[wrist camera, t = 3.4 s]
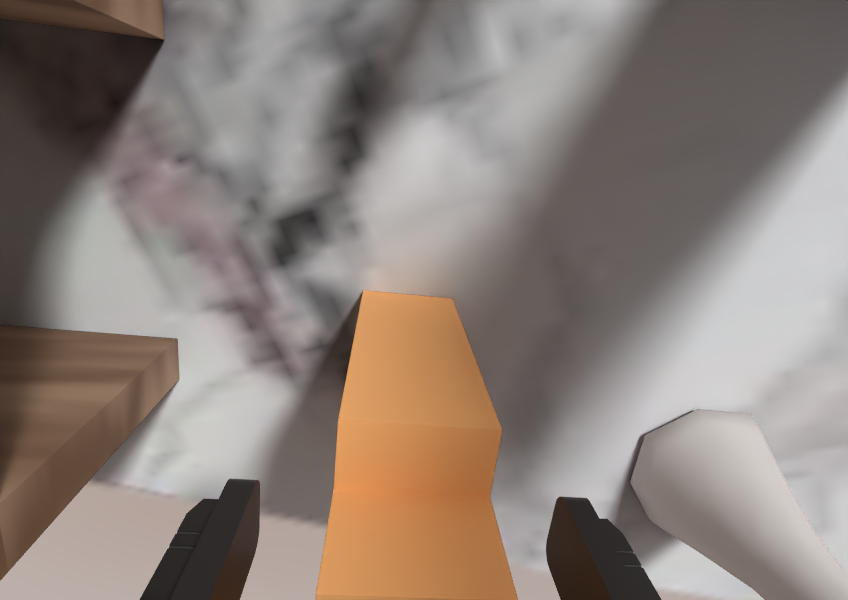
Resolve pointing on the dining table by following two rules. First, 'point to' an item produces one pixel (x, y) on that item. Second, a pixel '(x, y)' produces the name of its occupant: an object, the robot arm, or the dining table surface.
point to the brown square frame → (71, 356)
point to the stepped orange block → (414, 463)
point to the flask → (734, 506)
